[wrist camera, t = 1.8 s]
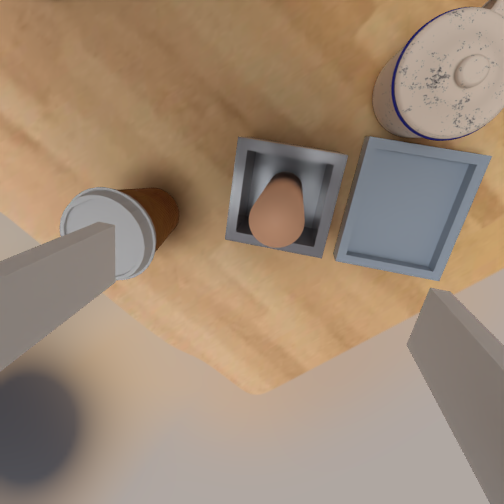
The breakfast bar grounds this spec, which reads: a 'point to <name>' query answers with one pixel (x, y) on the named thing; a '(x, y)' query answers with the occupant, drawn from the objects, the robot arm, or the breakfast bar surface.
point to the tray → (407, 206)
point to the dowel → (279, 212)
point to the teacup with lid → (445, 76)
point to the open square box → (313, 185)
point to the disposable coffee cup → (125, 222)
